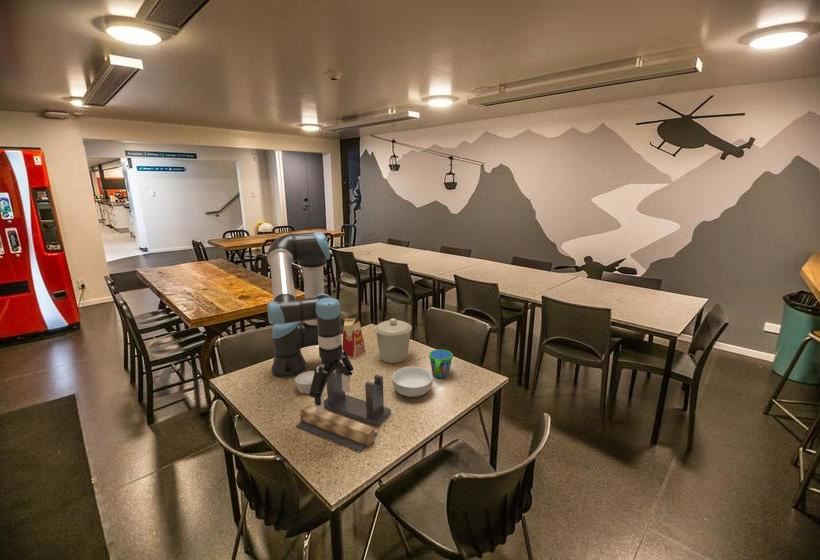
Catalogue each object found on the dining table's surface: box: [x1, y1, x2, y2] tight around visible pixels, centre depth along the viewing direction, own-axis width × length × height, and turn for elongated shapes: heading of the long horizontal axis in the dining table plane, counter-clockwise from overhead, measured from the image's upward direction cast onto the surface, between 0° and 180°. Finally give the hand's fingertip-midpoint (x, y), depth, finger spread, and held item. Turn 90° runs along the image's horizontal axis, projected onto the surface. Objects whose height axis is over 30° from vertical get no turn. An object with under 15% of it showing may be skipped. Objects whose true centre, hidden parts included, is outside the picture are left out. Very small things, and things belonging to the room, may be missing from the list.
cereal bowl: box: [391, 366, 434, 397], centre depth 153 cm, size 17×17×7 cm
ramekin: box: [294, 370, 314, 395], centre depth 156 cm, size 11×11×5 cm
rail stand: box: [324, 368, 392, 428], centre depth 139 cm, size 26×9×16 cm, turn 62°
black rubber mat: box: [295, 420, 378, 453], centre depth 129 cm, size 28×10×1 cm, turn 62°
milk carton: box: [342, 317, 367, 360], centre depth 185 cm, size 9×9×20 cm
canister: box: [374, 317, 413, 364], centre depth 180 cm, size 18×18×21 cm
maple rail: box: [299, 403, 376, 447], centre depth 129 cm, size 30×4×4 cm, turn 62°
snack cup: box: [428, 349, 454, 379], centre depth 165 cm, size 16×10×10 cm
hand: (334, 401), depth 127 cm, fingers open, 13 cm apart
